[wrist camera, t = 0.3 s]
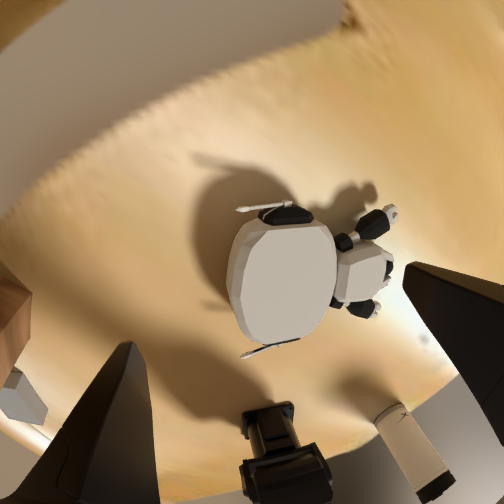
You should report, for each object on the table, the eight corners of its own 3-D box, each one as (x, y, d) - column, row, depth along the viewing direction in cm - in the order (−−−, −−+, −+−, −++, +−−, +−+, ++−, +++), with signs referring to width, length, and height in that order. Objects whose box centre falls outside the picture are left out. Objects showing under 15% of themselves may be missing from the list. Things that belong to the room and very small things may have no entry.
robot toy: (380, 192, 24) (218, 196, 21) (413, 203, 20) (230, 210, 17) (363, 305, 29) (225, 333, 25) (387, 328, 25) (236, 366, 21)
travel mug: (396, 399, 38) (455, 484, 19) (407, 406, 40) (460, 481, 22) (367, 422, 39) (418, 509, 20) (381, 427, 41) (428, 504, 23)
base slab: (48, 409, 25) (42, 425, 23) (14, 403, 24) (8, 418, 22) (23, 372, 23) (15, 389, 20) (-10, 368, 22) (-19, 383, 19)
